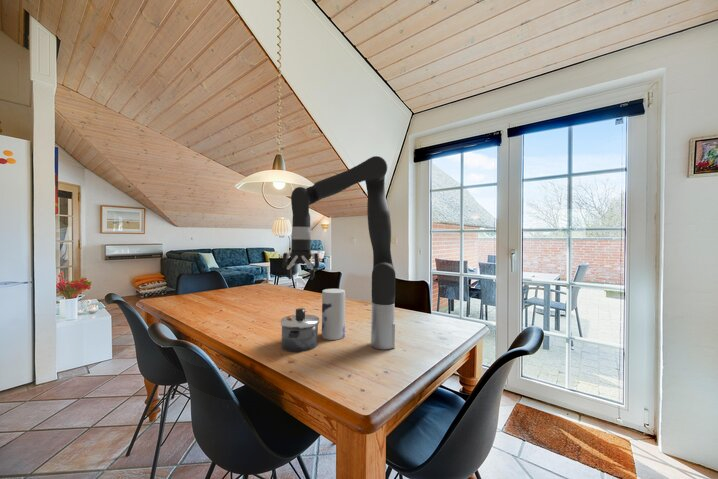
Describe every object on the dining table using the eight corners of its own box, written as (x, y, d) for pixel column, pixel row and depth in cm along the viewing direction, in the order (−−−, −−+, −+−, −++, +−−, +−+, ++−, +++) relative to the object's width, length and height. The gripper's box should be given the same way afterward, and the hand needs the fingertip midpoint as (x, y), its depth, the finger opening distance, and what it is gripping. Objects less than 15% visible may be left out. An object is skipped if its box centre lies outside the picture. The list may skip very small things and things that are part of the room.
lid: (321, 317, 119) (321, 305, 119) (316, 328, 104) (316, 314, 104) (285, 316, 118) (286, 304, 118) (275, 328, 103) (276, 314, 103)
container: (316, 336, 121) (317, 290, 121) (334, 330, 129) (334, 287, 129) (332, 342, 115) (333, 293, 114) (349, 336, 122) (350, 290, 122)
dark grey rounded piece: (289, 335, 122) (290, 314, 122) (321, 336, 121) (321, 315, 121) (273, 355, 101) (273, 330, 101) (311, 356, 100) (312, 331, 100)
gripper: (320, 238, 115) (320, 278, 115) (286, 238, 115) (285, 277, 115) (317, 238, 107) (316, 280, 107) (280, 238, 108) (280, 280, 108)
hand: (300, 279), depth 111 cm, fingers open, 8 cm apart
